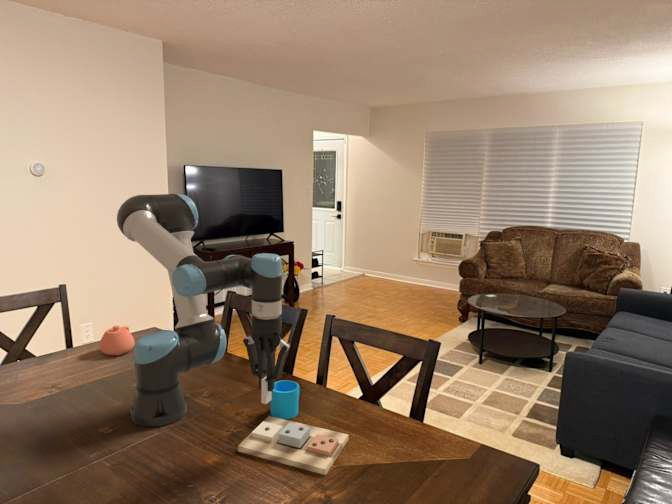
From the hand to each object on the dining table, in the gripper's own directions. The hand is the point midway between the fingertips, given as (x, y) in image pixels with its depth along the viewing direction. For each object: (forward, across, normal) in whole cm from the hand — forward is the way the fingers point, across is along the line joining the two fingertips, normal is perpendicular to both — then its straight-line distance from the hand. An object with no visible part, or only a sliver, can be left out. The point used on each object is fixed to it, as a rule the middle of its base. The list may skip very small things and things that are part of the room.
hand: (266, 401), depth 123 cm
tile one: (+10, 0, 0) cm, 10 cm away
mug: (+11, -2, +16) cm, 19 cm away
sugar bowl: (+12, -82, +30) cm, 88 cm away
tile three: (+10, +16, 0) cm, 19 cm away
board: (+10, +8, 0) cm, 13 cm away
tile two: (+9, +8, 0) cm, 12 cm away
